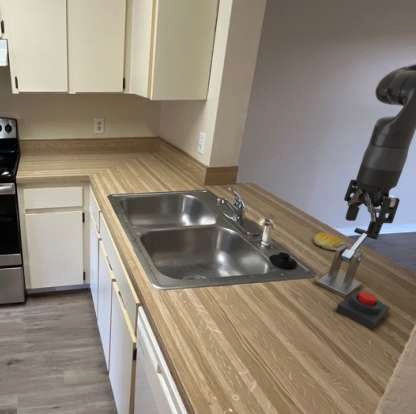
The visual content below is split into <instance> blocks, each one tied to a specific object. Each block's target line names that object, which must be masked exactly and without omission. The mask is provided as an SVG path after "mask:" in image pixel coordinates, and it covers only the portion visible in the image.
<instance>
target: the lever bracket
mask: <svg viewBox="0 0 416 414" xmlns="http://www.w3.org/2000/svg"><path fill="white" fill-rule="evenodd" d="M346 249H348V246H347V245H345V244H344V245H343V246H341V247H339V248H338V249H337V250H335V251H334V252H335V253H334V255H333V258H332V259H333V260H332V262H331V264H330V268H329V271H328V272H327V273H326V274H323V276H321V277H319V278H318V279H316V280H315V285H317V286H320V287H321V288H324V289H325V290H328V291H330V292H332V293H334V294H337V295H339V296H340V297H342V298H344V299H346V298H347V297H349V296H350V295H351V294H352V293H354V292H355V291H357V290H358V289H359V288H360V287H361V286H362V284H363V283H362V282H361V281H359V280H357V279H355V276H356V273H357V271H358V268H359V266H360V263H361V262H362V258H363V255H364V252H363V251H361V250H358V251H356V252H355V254H354V255H353V256H352V258H351V261H350V263H348V266H347V270H346V273H345V274H343V273H341V272H340V269H341V266H342V263H343V261H342V260H341V255H342V254H343V252H344V251H345V250H346Z"/></svg>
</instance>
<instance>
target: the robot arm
mask: <svg viewBox="0 0 416 414" xmlns="http://www.w3.org/2000/svg"><path fill="white" fill-rule="evenodd" d="M374 95H375V98H376V99H377V100H378V101H379V102H380V103H382V104H385V105H388V106H389V105H390V106H400V107H402V108H401V109H400V110H399V112H398V113H397V114H396V115H395V116H394V115H393V116H392V115H391V116H383V117H380V118H378V119H377V120H376V122H375V123H374V126H373V129H372V132H371V135H370V137H369V138H370V139H369V141H368V144H367V147H366V149H365V151H364V153H363V155H362V158H361V163H360V164H359V169H358V171H357V174H356V178H355V179H350V181H349V184H348V186H347V189H346V192H345V195H344V199H343V200H344V201H345V202H347V206H348V207H347V211H346V213H345V217H344V219H345V221H348V222H355V221H356V220H357V217H358V215H359V212H360V209H361V208H360V206H362V205H364V206H365V207H366V208H367V212H368V213H369V215H370V221H369V224H368V227H367V229H366V231H367V232H366V234H367V235H368V236H378V235H380V232H381V231H382V227H383V225H384V224H392V223H394V219H395V217H396V214H397V210H398V208H399V205H400V198H399V197H391V196H390V191H391V190H392V189H394V188H396V187H397V186H398V184H399V181H400V178H401V175H402V173H403V170H404V167H405V165H406V162H407V159H408V155H409V151H410V148H411V147H410V146H411V144H412V142H413V139H414V136H415V132H416V63H412V64H409V65H405V66H402V67H399V68H396V69H394V70H391V71H390V72H389V73H387V74H385V76H383V77H382V78H381V79H380V80H379V81H378V82H377V85H376V88H375V94H374ZM352 194H353V195H352ZM351 195H352V196H351ZM377 214H378V216H377Z"/></svg>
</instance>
